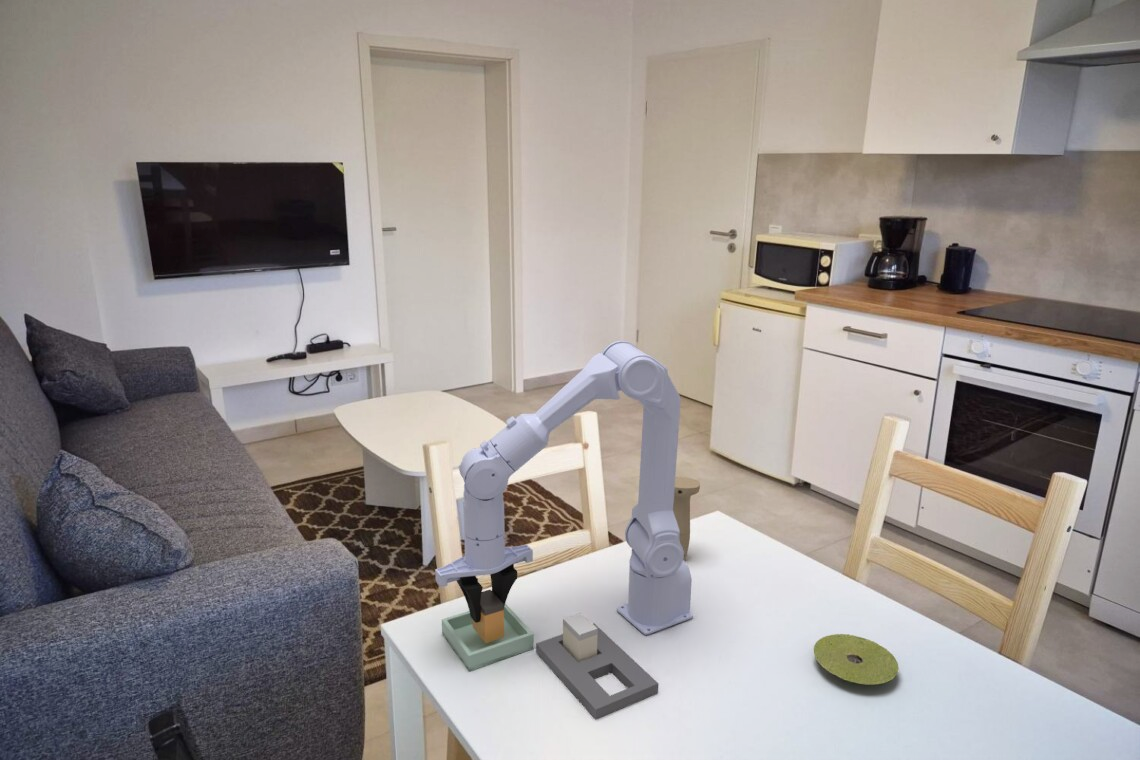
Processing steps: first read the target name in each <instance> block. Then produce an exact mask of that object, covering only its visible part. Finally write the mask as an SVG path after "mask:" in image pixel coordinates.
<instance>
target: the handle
mask: <svg viewBox="0 0 1140 760" xmlns="http://www.w3.org/2000/svg"><path fill="white" fill-rule="evenodd" d="M700 487H701V483H700V481H699V480H697V479H694V478H690V477H686V476H683V477H682V476H675V488H674V502H673V512H674V515H675V518H676V521H677V524H678V527H679V531H680V535H679V540H680V544H681V546H682V548H683V551H684V559H683V560H684V561H685V562H686V560H687V556H688V552H689V547H690V541H691V539H690V538H691V497H692V496H694V495H696V494H698V493H699V492H700Z"/></svg>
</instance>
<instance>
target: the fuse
mask: <svg viewBox="0 0 1140 760" xmlns="http://www.w3.org/2000/svg"><path fill="white" fill-rule="evenodd" d="M597 633H598V628H597V627H596V626H594V625H593V622H591V621H590V620H589V619H588V618H587V616H585V615H584V614H582V612H579V613H576V614H573V615H570V616H567V617H564V618H563V619H562V634H563V647H564V648H565V649H566V650H567V651H568V652H569V653H570V654H571V656H572V657H573V658H574V659H575V660H576V661H577V662H580V661H583V660H585V659H588V658H591V657H593V656H596V655H597Z"/></svg>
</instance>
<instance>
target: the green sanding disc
mask: <svg viewBox="0 0 1140 760" xmlns="http://www.w3.org/2000/svg"><path fill="white" fill-rule="evenodd" d="M813 654H814V657H815V659H816V661H817V662H818V663H819V665H820V666H821V667H822V668H823V669H825V670H826V671H827V672H829V673H830V674H832V675H835V676H836V677H838V678H840V679H842V680H844V681H848V682H850V683H855V684H860V685H881V684H885V683H888V682H889V681H892V680H894V678H895V677H896V676H897V675H898V673H899V670H900V669H899V662H898V660H897V658H896V657H895V656H894V654H892V652H890V651H889V650H888V649H887V648H886V647H883V645H880V644H879V643H877V642H875V641H872V640H871V639H867V638H864V637H861V636H857V635H852V634H844V633H840V634H839V633H835V634H830V635H826V636H823V637H821V638H819V639H818V640H817V641H816V642H815V644H813Z"/></svg>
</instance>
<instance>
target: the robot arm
mask: <svg viewBox="0 0 1140 760" xmlns="http://www.w3.org/2000/svg"><path fill="white" fill-rule="evenodd" d="M620 391H621V392H622V393H623V394H624V395H625V396H626V397H628V398H631V399H632V400H636V401H638V403H640V404H641V405H642V406H643V412H642V429H641V445H640V446H641V447H640V449H641V450H640V461H639V462H640V464H639V481H638V497H637V498H638V499H637V504H636V505H635V506H633V508H632V509H631V516H630V520H629V522H628V523H627V526H626V527H625V530H624V537H625V541H626V543H627V545H628V546H629V548H631V554H630V558H629V565H628V566H629V568H628V569H629V570H628V598H627V599H628V602H627V603H625V604H623V605H620V606H617V607H616V612H618V613H619V614H620V615H622V617H624V618H625V619H626V620H627V621H628V622H629V623H630V624H632V625H633V626H634V627H635V628H636V629H637V630H638V631H640V632H641V633H642V634H643V635H645V636H646V635H650V634H651V635H652V634H653V633H656V632H658V631H661V630H664V629H666V628H670V627H672V626H674V625H677V624H680V623H683V622H686V621H688V620H691V619H693V618H694V614H693V613H692V612H691V600H692V599H691V597H692V596H691V595H692V575H691V571H690V568H689V566H688V564H687V563H686V560H685V561H684V560H683V559H684V551H683V548H682V546H681V544H680V540H679V535H680V531H679V527H678V524H677V521H676V518H675V515H674V512H673V502H674V488H675V477H676V474H677V472H676V470H677V459H678V457H677V456H678V442H679V432H680V431H679V430H680V429H679V427H680V418H681V417H680V416H681V414H680V413H681V396H680V394H679V392H678V390H677V388H676V386H675V384H674V383H673V381H672V379H671V377H670V375H669V373H668V368H667V367H666V366H665V365H664V364H662V363H661V362H660V361H659V360H657V359H656V358H654V357H653V356H651V355H649V354H647V353H645V352H643V351H642V350H641V349H639V348H638V347H637V346H635V345H634V344H633V343H631V342H629V341H626V340H618V341H617V340H616V341H613V342H611V343H609V345H607V346H605V348H604V349H603V351H602V352H598V353H597V354H595V355H594V356H592V357H591V359H590V360H589V361H588V362H587V363H586V364H585V366H584V367H583V369H581V370H580V371H579V372H578V373H577V374H576V375H575V376H574V377H573V378H572V379H571V380H569V382H567V383H566V384H565V385H564V386H563V387H562V388H561V389H560V390H559V391H558V392H557V393H556V394H555V395H553V396H552V397H551V398H550V399H549V400H548V401H547V402H546V403H545V404H544V405H543V406H541V407H540V408H539V409H538V410H537V411H536V412H534V413H521V414H519V415H518V416H517V417H516V418H515V417H514V416H513V415H512V416H510V417H509V418H508V419H507V420H506V421H505V423H506V426H504V428H502V429H501V430H500V431H498V433H496V434H495V435H494V436H493V437H492V438H491V439H489V440H487V441H486V440H483V441H482V442H481V443H480V444H479V447H478V448H472V449H471V450H469V451H467V452H466V453H465V454H464V456H463V457H462V458H461V459H462V461H461V462H460V465H459V466H458V471H459V474H460V475H461V477H462V478H463V479H462V480H463V483H464V485H463V498H464V499H463V505H462V506H463V508H462V509H463V510H462V511H463V531H464V532H463V535H464V556H461V557H460V558H458V559H456V560H453V561H452V562H449V563H447V564H446V565H444V566H441V567H438V568H436V569H434V573H435V582H436V583H437V585H438V586H439V588H444V587H447V586H448V585H449V583H453V582H456V583H457V585H458V586H459V589H460V590H461V592H462V594H463V596H464V599H465V601H466V605H467V607H468V611H470V616H471V618H472V619H473V620H474V621H475V623H477V622H480V619H481V610H480V600H481V593H482V592H483V587H484V586H482V584H481V583H480V582H479V578H477V576H487V575H490V582H491V591H492V592H493V593H494V594H495V595H496V596H497V597H498V598H499V599H500V600H501V602H502V603H503V604H504V606H505V603H506V604H507V599H508V596H509V594H510V592H511V589H512V587H513V585H514V584H515V583H516V581H517V579H518V571H517V570H516V568H514V566H515V564H519V563H522V562H525V563H527V564H528V563H532V562H533V561H534V557H533V556H534V552H533V551H534V549H532V548H531V547H530V546H529V545H528V544H523V545H517V546H506V544H505V543H506V537H505V535H506V534H505V501H504V492H505V491H506V489H507V487H508V484H509V479H510V477H511V476H513V475H514V474H515V473H516V472H517V471H518V470H520V469H521V468H522V467H523V466H524V465H525V464H527V463H528V462H529V461H530V460H531V459H533V458H534V457H535V456H536V455H537V454H539V453H540V452H541V451H542V450H543V449H545V448H546V447H547V446H548V444H549V439H550V438H549V437H550V434H551V432H552V431H554V430H555V429H556V428H557V427H559V426H561V425H562V424H563V423H565V422H566V421H567V420H569V419H570V418H571V417H573V416H574V415H575V414H577V413H578V412H579V411H580V410H582V409H583V408H585V407H586V406H588V405H589V404H590V403H591V402H593V401H594V400H620V399H621V398H620V394H619V392H620Z"/></svg>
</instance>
